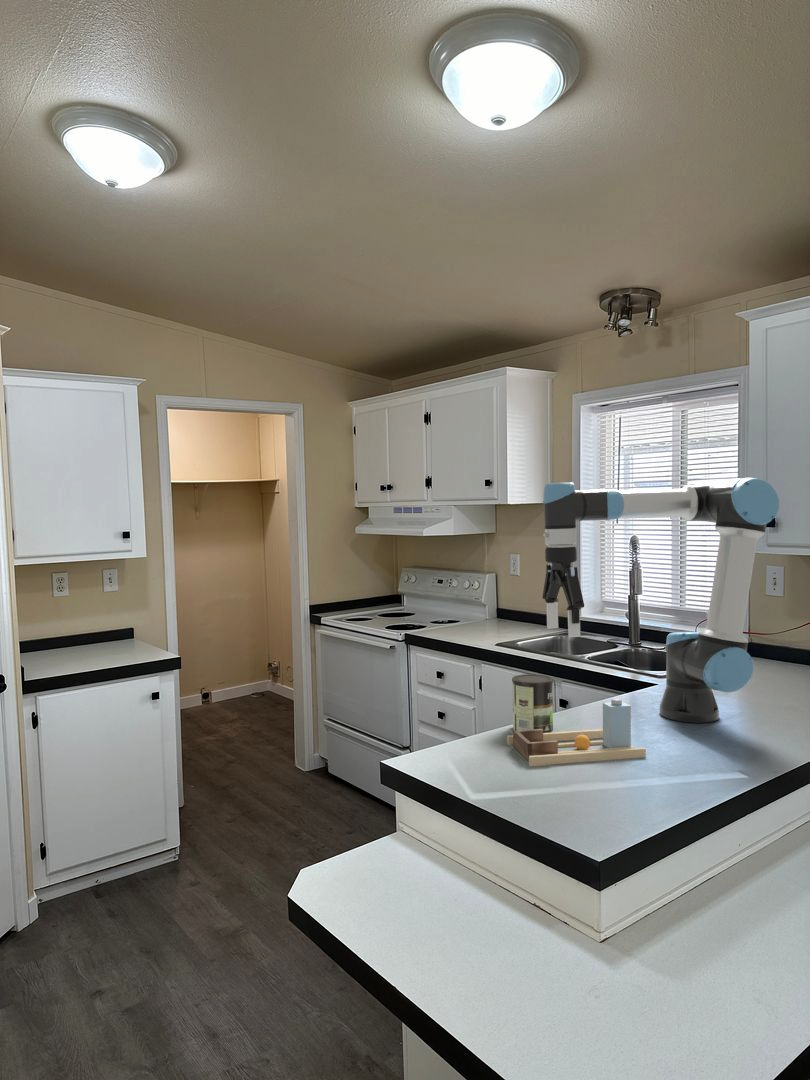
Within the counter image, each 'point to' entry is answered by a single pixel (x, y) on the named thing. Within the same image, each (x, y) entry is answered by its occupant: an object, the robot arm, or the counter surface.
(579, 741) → the ball
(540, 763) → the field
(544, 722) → the coffee can
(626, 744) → the block
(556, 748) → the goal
